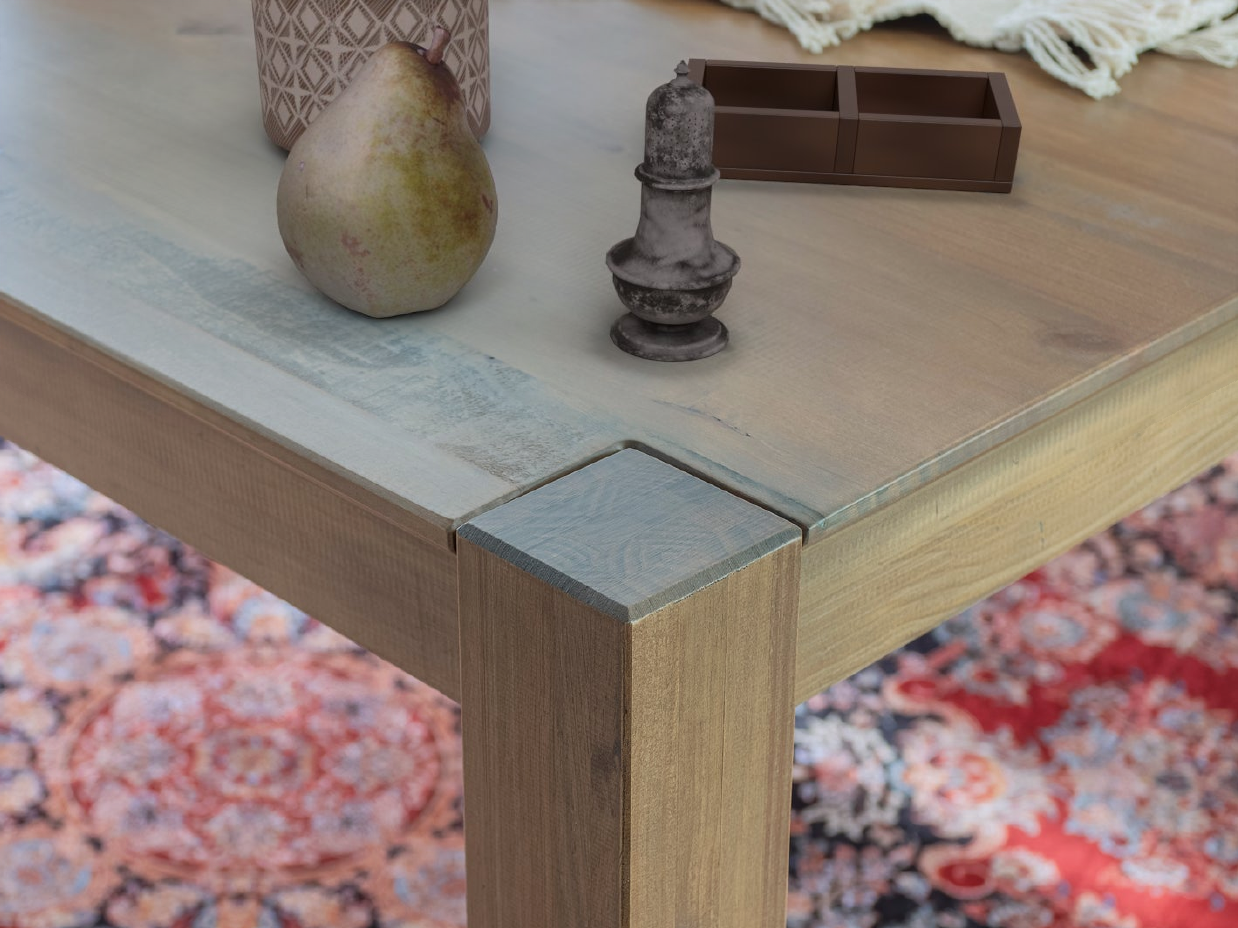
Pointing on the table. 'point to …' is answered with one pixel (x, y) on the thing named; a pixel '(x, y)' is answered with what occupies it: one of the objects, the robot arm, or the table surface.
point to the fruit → (390, 187)
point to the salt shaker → (674, 235)
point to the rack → (861, 125)
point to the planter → (359, 53)
